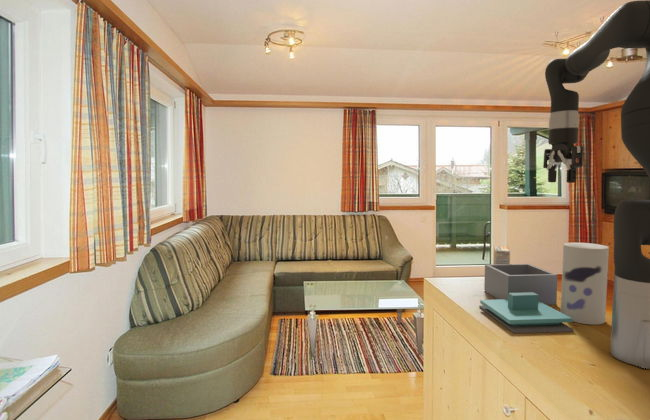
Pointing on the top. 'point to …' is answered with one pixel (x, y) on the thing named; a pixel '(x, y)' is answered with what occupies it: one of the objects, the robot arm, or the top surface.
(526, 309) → the lid
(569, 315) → the container
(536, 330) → the mat
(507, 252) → the supplement box
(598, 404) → the top surface
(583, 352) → the top surface
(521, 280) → the storage box
